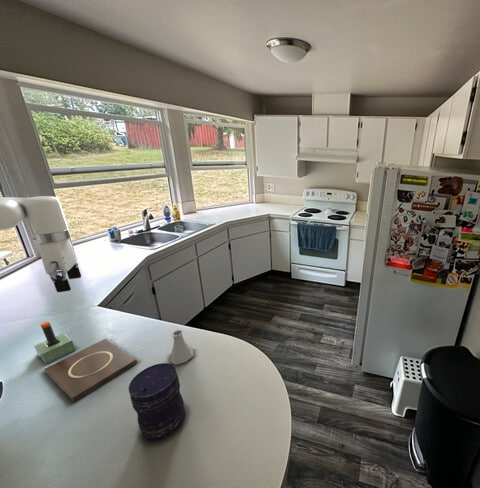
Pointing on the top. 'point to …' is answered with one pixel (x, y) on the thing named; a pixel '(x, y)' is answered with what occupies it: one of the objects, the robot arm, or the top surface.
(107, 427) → the top surface
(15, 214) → the robot arm
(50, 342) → the marker
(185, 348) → the flask
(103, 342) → the board
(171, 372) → the storage jar
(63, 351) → the pen stand
